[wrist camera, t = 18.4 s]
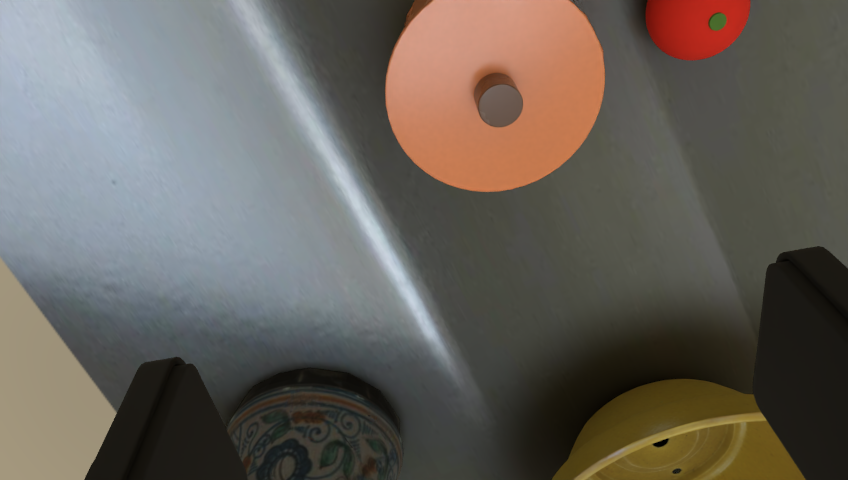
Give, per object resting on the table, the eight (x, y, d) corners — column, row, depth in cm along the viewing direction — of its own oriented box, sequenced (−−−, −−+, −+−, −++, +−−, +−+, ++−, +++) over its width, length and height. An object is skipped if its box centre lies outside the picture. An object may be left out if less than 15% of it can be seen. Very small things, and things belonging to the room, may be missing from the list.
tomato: (631, -39, 42) (667, -22, 36) (725, -58, 41) (775, -44, 36) (632, 53, 45) (665, 81, 39) (720, 36, 44) (765, 62, 39)
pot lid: (360, 3, 34) (357, 16, 32) (590, -52, 33) (608, -43, 31) (411, 202, 40) (413, 227, 38) (606, 160, 40) (622, 183, 37)
